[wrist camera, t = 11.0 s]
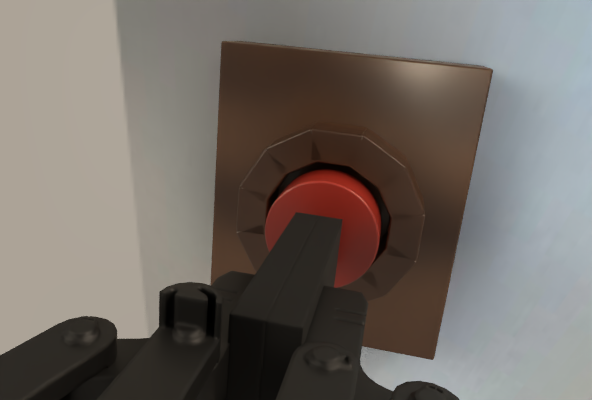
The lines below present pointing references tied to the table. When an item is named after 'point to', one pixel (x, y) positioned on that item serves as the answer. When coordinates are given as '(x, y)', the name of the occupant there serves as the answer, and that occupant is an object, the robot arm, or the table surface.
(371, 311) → the button block
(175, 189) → the table surface
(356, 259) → the button
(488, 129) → the table surface
